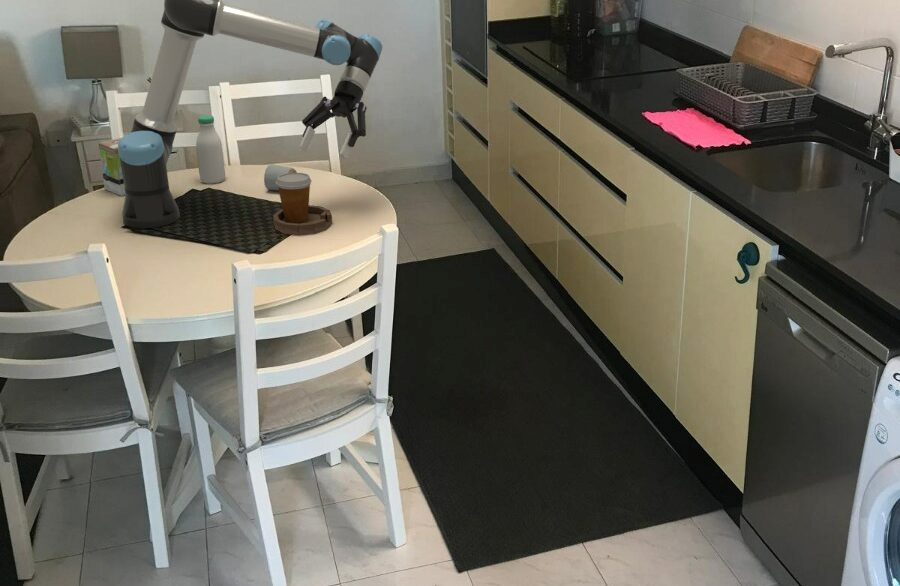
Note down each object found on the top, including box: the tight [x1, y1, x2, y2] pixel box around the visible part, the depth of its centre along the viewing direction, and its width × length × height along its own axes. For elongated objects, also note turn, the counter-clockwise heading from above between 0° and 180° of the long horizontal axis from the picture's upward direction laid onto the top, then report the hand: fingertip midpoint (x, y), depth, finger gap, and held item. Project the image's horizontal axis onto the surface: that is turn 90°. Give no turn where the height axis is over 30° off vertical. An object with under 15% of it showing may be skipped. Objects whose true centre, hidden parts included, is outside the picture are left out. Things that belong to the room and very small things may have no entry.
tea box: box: [98, 137, 126, 197], centre depth 289 cm, size 15×10×15 cm
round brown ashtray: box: [272, 204, 333, 236], centre depth 262 cm, size 15×15×3 cm
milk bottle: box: [195, 114, 226, 185], centre depth 293 cm, size 8×8×20 cm
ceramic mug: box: [263, 163, 298, 192], centre depth 289 cm, size 11×8×8 cm
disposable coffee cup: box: [276, 172, 312, 223], centre depth 261 cm, size 10×10×12 cm
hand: (322, 152), depth 263 cm, fingers open, 13 cm apart
